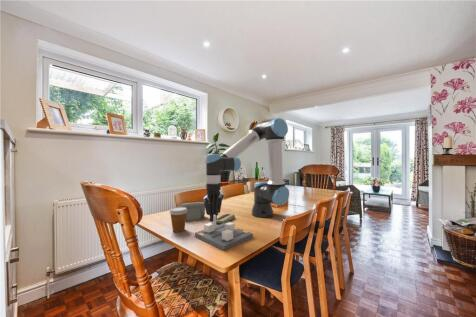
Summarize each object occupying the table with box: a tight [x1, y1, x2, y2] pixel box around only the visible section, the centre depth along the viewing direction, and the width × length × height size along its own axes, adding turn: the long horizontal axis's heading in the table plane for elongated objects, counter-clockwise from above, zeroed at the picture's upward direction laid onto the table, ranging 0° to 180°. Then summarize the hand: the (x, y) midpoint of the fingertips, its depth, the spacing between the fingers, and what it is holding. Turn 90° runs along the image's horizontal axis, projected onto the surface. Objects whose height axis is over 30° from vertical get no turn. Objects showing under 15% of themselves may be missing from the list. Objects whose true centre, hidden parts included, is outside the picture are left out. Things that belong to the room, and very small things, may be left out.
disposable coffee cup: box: [169, 206, 187, 233], centre depth 113 cm, size 10×10×12 cm
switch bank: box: [194, 223, 254, 251], centre depth 104 cm, size 20×22×2 cm
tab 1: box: [203, 222, 215, 233], centre depth 106 cm, size 4×4×4 cm
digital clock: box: [180, 201, 206, 222], centre depth 134 cm, size 16×9×11 cm, turn 98°
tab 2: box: [224, 221, 235, 231], centre depth 106 cm, size 4×4×4 cm
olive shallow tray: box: [216, 213, 236, 226], centre depth 129 cm, size 16×8×3 cm, turn 154°
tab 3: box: [222, 230, 233, 241], centre depth 96 cm, size 4×4×4 cm
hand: (213, 227), depth 108 cm, fingers closed
